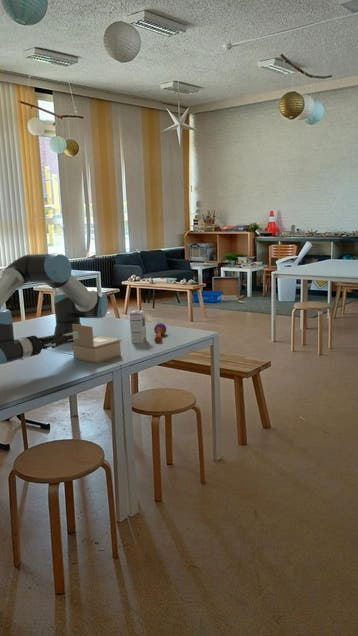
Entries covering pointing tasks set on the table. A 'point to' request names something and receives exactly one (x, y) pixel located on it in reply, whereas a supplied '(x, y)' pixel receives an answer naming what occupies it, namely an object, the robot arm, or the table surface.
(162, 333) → the kendama
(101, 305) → the robot arm
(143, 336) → the syrup box
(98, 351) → the box
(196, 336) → the table surface
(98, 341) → the lid
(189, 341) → the table surface
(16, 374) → the table surface
